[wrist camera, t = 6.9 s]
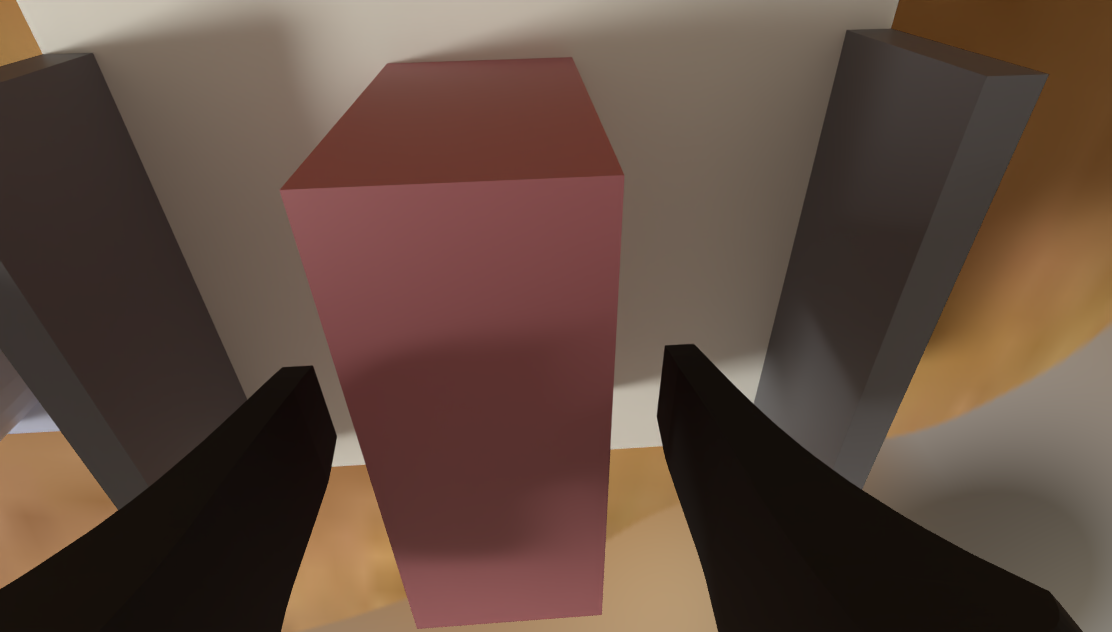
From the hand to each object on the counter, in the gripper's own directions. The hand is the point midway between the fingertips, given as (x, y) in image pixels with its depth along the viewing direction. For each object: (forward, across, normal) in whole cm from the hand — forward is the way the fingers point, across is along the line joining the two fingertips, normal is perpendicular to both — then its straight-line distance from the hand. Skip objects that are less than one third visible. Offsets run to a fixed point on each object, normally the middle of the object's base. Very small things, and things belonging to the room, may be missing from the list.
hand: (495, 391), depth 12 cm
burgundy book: (+4, 0, -1) cm, 4 cm away
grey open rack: (+6, 0, 0) cm, 6 cm away
